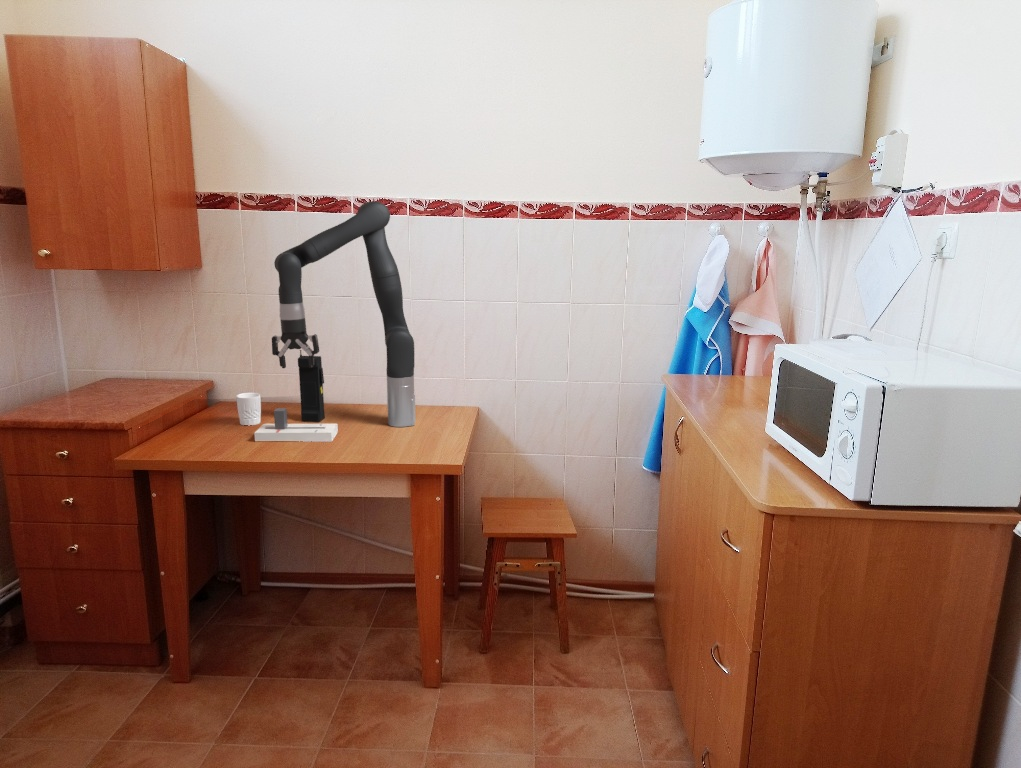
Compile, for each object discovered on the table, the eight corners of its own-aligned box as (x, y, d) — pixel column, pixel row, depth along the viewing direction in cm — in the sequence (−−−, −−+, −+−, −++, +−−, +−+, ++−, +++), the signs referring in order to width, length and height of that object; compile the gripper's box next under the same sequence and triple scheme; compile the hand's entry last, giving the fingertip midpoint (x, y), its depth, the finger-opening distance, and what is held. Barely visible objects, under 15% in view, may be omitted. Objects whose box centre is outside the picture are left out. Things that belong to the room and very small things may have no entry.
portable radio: (328, 417, 246) (325, 348, 240) (322, 422, 240) (318, 351, 234) (307, 417, 246) (303, 348, 241) (300, 421, 241) (296, 351, 235)
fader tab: (287, 425, 224) (286, 408, 223) (284, 429, 221) (283, 411, 220) (278, 425, 224) (277, 408, 223) (275, 429, 221) (273, 411, 219)
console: (337, 432, 229) (337, 423, 228) (331, 441, 219) (331, 431, 219) (264, 432, 228) (263, 423, 227) (255, 441, 218) (254, 432, 217)
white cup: (261, 425, 235) (259, 397, 233) (236, 427, 234) (234, 398, 231) (263, 419, 243) (261, 391, 240) (239, 420, 241) (237, 392, 239)
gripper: (318, 314, 221) (322, 364, 225) (273, 316, 220) (278, 365, 224) (312, 318, 214) (317, 369, 218) (266, 319, 213) (271, 370, 217)
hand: (297, 367), depth 221 cm, fingers open, 8 cm apart
